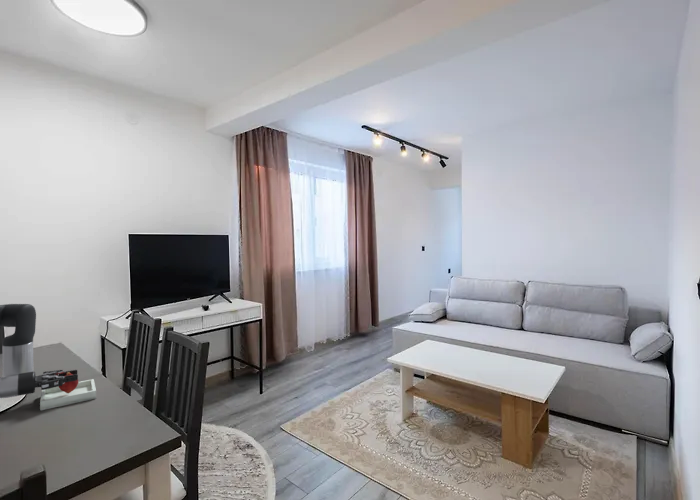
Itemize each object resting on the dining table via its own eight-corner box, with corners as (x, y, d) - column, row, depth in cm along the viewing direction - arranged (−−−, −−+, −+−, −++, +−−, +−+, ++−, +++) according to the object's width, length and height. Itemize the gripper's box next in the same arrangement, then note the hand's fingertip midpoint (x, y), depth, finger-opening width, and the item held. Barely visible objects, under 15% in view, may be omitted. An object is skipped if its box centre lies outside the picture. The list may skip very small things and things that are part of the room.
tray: (42, 396, 136) (42, 388, 136) (93, 386, 146) (93, 379, 146) (40, 410, 125) (40, 402, 125) (96, 398, 135) (96, 390, 135)
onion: (66, 390, 139) (66, 369, 138) (81, 389, 139) (81, 369, 139) (54, 396, 133) (54, 375, 133) (71, 396, 133) (71, 374, 133)
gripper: (15, 380, 121) (78, 370, 132) (19, 368, 132) (77, 359, 143) (15, 402, 121) (78, 390, 132) (19, 388, 132) (77, 378, 143)
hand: (77, 374), depth 137 cm, fingers closed on onion, 5 cm apart
